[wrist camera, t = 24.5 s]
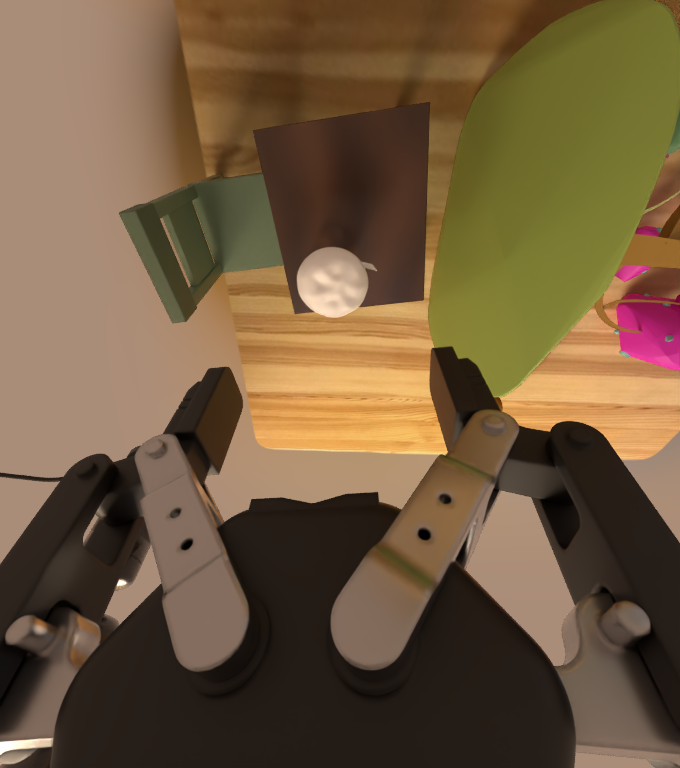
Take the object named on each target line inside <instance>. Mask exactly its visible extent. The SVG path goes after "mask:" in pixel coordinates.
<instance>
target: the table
mask: <svg viewBox="0 0 680 768" xmlns="http://www.w3.org/2000/svg"><path fill="white" fill-rule="evenodd" d="M429 115H430V102H426V103H420V104H413V105H406V106H400V107H395V108H389V109H383V110H376V111H370V112H364V113H358V114H352V115H345V116H339V117H333V118H327V119H321V120H314V121H308V122H302V123H296V124H288V125H282V126H276V127H270V128H264V129H258V130H253V133H254V137H255V142H256V146H257V151H258V155H259V159H260V164H261V168H262V172H263V177H264V181H265V185H266V190H267V194H268V198H269V203H270V207H271V211H272V216H273V220H274V225H275V229H276V233H277V238H278V242H279V246H280V251H281V255H282V259H283V264H284V268H285V272H286V277H287V281H288V286H289V290H290V294H291V299H292V303H293V307H294V312H295V314H301V313H310V312H314V311H313V310H311V309H310V308H309V307H308V306H307V305H306V304H305V303H304V301H303V300H302V299H301V297H300V295H299V292H298V287H297V273H298V270H299V268H300V266H301V264H302V262H303V261H304V260H305V258H306V257H307V255H308V254H309V252H310V250H311V249H312V247H313V245H314V243H315V241H316V239H317V237H318V236H319V234H320V233H321V232H322V231H324V230H325V229H326V228H328V227H329V226H343V227H344V228H345V229H347V230H348V231H349V232H350V233H352V234H353V237H354V240H355V244H356V247H357V250H358V253H359V255H360V258H361V260H362V262H366V263H370V264H373V265H374V266H375V268H376V269H377V271H374V270H371V269H367V268H365V270H366V272H367V276H368V289H367V293H366V295H365V298H364V300H363V302H362V304H361V305H360V306H359V307H366V306H375V305H385V304H394V303H403V302H413V301H422V300H424V275H425V243H426V211H427V179H428V147H429Z"/></svg>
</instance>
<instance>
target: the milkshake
mask: <svg viewBox="0 0 680 768" xmlns="http://www.w3.org/2000/svg"><path fill="white" fill-rule="evenodd" d="M365 268H367V269H371V270H374V271H377V269H376V268H375V266H374V265H373V264H370V263H366V262H362V260H361V258H360V255H359V253H358V250H357V247H356V244H355V240H354V237H353V234H352V233H350V232H349V231H348V230H347V229H345V228H344V227H343V226H329V227H328V228H326V229H325V230H324V231H322V232H321V233H320V234H319V236H318V237H317V239H316V241H315V243H314V245H313V247H312V249H311V250H310V252H309V254H308V255H307V257H306V258H305V260H304V261H303V262H302V264H301V266H300V268H299V270H298V273H297V287H298V292H299V295H300V297H301V299H302V300H303V301H304V303H305V304H306V305H307V306H308V307H309V308H310V309H311V310H313V311H314V312H316V313H318V314H321V315H323V316H326V317H331V318H337V317H342V316H345V315H347V314H349V313H351V312H353V311H354V310H356V309H357V308H358V307H359V306H360V305H361V304H362V302H363V300H364V298H365V295H366V293H367V289H368V276H367V272H366V270H365Z"/></svg>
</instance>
